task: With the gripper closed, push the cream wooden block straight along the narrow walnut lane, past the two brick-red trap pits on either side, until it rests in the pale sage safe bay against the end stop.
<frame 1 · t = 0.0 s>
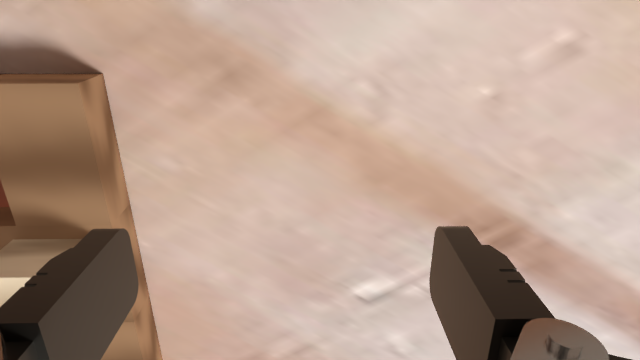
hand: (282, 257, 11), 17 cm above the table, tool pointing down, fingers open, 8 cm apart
block: (71, 277, 28), point 3 cm above the table, touching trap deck
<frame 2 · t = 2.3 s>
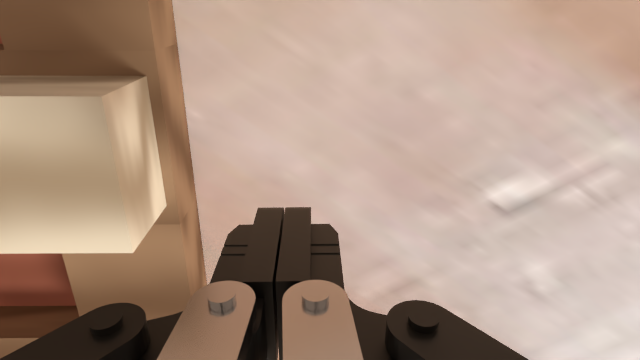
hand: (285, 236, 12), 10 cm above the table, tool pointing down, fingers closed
block: (88, 145, 18), point 3 cm above the table, touching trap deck
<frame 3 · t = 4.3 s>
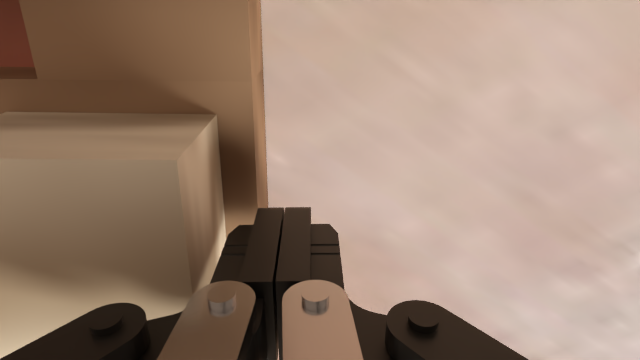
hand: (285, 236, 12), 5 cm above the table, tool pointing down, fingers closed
block: (128, 206, 13), point 3 cm above the table, touching gripper
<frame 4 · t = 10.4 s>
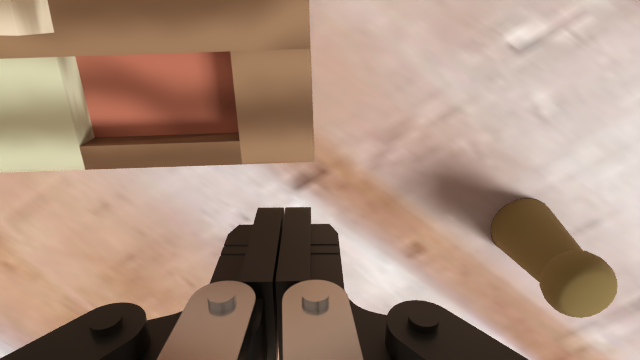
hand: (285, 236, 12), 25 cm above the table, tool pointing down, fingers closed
cork: (520, 225, 41), on the table
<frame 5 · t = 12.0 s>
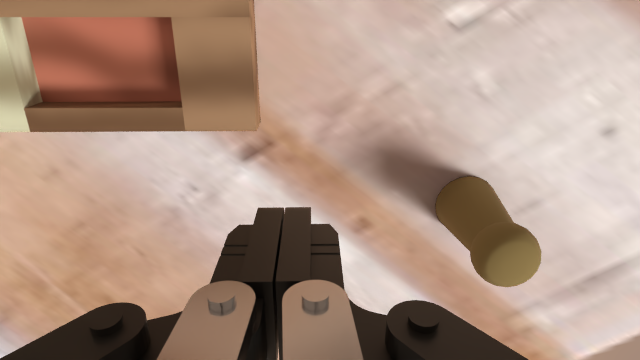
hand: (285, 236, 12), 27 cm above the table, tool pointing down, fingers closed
cork: (464, 203, 42), on the table
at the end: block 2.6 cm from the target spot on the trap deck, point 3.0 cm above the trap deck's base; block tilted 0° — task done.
